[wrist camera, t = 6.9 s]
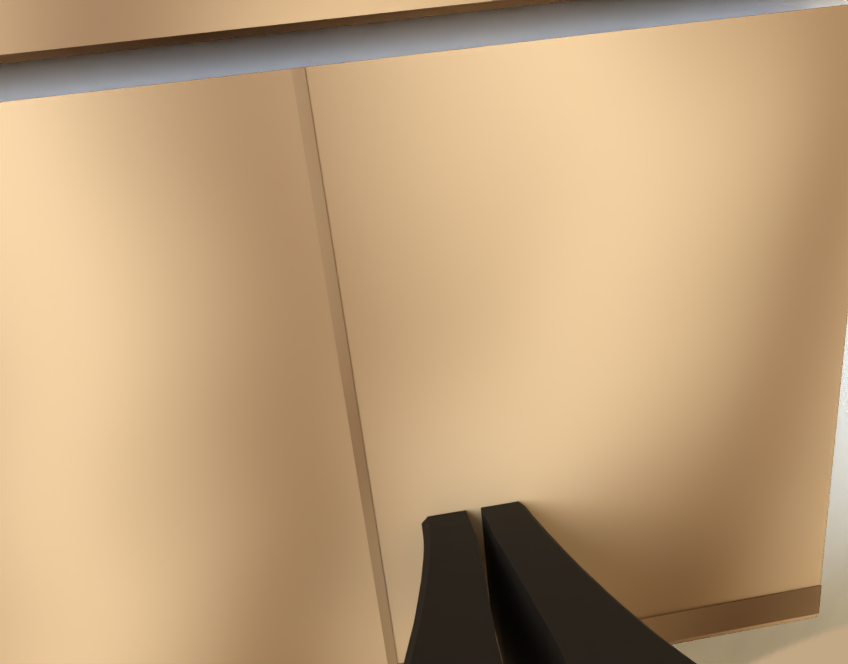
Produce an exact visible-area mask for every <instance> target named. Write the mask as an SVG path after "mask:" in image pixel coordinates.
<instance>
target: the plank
mask: <svg viewBox="0 0 848 664" xmlns="http://www.w3.org/2000/svg"><path fill="white" fill-rule="evenodd" d="M847 316H848V5H840V6H831V7H822V8H814V9H805V10H796V11H788V12H779V13H770V14H762V15H753V16H744V17H736V18H727V19H718V20H710V21H701V22H692V23H684V24H675V25H666V26H658V27H649V28H640V29H632V30H623V31H614V32H606V33H597V34H588V35H580V36H571V37H562V38H554V39H545V40H536V41H528V42H519V43H510V44H502V45H493V46H484V47H476V48H467V49H458V50H449V51H441V52H432V53H423V54H415V55H406V56H397V57H389V58H380V59H371V60H363V61H354V62H345V63H337V64H328V65H319V66H311V67H302V68H293V69H285V70H276V71H267V72H259V73H250V74H241V75H233V76H224V77H215V78H207V79H198V80H189V81H181V82H172V83H163V84H155V85H146V86H137V87H129V88H120V89H111V90H103V91H94V92H85V93H77V94H68V95H59V96H51V97H42V98H33V99H25V100H16V101H7V102H0V664H404V660H405V656H406V652H407V648H408V644H409V640H410V636H411V632H412V628H413V623H414V619H415V613H416V607H417V602H418V596H419V590H420V584H421V576H422V566H423V553H424V541H423V532H422V522H423V521H424V520H425V519H426V518H427V517H428V516H434V515H440V514H445V513H451V512H457V511H463V510H466V512H467V514H468V516H469V519H470V521H471V523H472V526H473V528H474V531H475V533H476V536H477V538H478V544H479V549H480V554H481V559H482V565H483V570H484V575H485V581H486V586H487V591H488V597H489V590H488V580H487V569H486V558H485V548H484V537H483V527H482V516H481V507H487V506H493V505H499V504H505V503H511V502H517V501H519V502H520V503H521V504H523V505H524V506H526V508H527V509H528V510H529V511H530V512H531V514H532V515H533V516H534V517H535V518H536V519H537V521H538V522H539V523H540V524H541V525H542V526H543V527H544V528H545V530H546V531H547V532H548V533H549V534H550V535H551V536H552V537H553V538H554V539H555V540H556V541H557V543H558V544H559V545H560V546H561V547H562V548H563V549H564V550H565V551H566V552H567V553H568V554H569V555H570V556H571V557H572V558H573V559H574V560H575V561H576V562H577V563H578V564H579V565H580V566H581V567H582V568H583V569H584V570H585V571H586V572H587V573H588V574H589V575H590V576H591V577H592V578H594V579H595V580H596V581H597V582H598V583H599V584H600V585H601V586H602V587H603V588H604V589H605V590H606V591H607V592H608V593H609V594H611V595H612V596H613V597H614V598H615V599H616V600H617V601H618V602H620V603H621V604H622V605H623V606H624V607H625V608H626V609H628V610H629V611H630V612H631V613H632V614H633V615H635V616H636V617H637V618H638V619H639V620H641V621H642V622H643V623H644V624H645V625H646V626H648V627H649V628H650V629H651V630H653V631H654V632H655V633H656V634H658V635H659V636H660V637H661V638H663V639H664V640H665V641H666V642H668V643H669V644H670V645H672V644H677V643H682V642H687V641H693V640H698V639H703V638H708V637H714V636H719V635H724V634H729V633H735V632H740V631H745V630H750V629H756V628H761V627H766V626H771V625H777V624H782V623H787V622H792V621H798V620H803V619H808V618H813V617H817V614H818V613H819V605H820V595H821V585H820V583H821V573H822V563H823V553H824V543H825V534H826V524H827V514H828V504H829V494H830V484H831V474H832V464H833V454H834V445H835V435H836V425H837V415H838V405H839V395H840V385H841V375H842V365H843V355H844V346H845V336H846V326H847ZM489 602H490V601H489ZM495 634H496V633H495ZM496 638H497V637H496ZM497 642H498V641H497ZM498 646H499V645H498ZM499 650H500V649H499ZM500 654H501V653H500ZM501 658H502V657H501ZM502 662H503V661H502Z"/></svg>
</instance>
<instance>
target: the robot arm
mask: <svg viewBox="0 0 848 664" xmlns="http://www.w3.org/2000/svg"><path fill="white" fill-rule="evenodd" d="M481 516H482V527H483V537H484V548H485V558H486V569H487V580H488V590H489V597H488V591H487V586H486V581H485V575H484V570H483V565H482V559H481V554H480V549H479V544H478V538H477V536H476V533H475V531H474V528H473V526H472V523H471V521H470V519H469V516H468V514H467V512H466V510H463V511H457V512H451V513H445V514H440V515H434V516H428V517H427V518H426V519H425V520H424V521H423V522H422V532H423V541H424V553H423V566H422V576H421V584H420V590H419V596H418V602H417V607H416V613H415V619H414V623H413V628H412V632H411V636H410V640H409V644H408V648H407V652H406V656H405V660H404V664H696V663H695V662H693V661H692V660H691V659H689V658H688V657H686V656H685V655H684V654H682V653H681V652H680V651H678V650H677V649H676V648H674V647H673V646H672V645H670V644H669V643H668V642H666V641H665V640H664V639H663V638H661V637H660V636H659V635H658V634H656V633H655V632H654V631H653V630H651V629H650V628H649V627H648V626H646V625H645V624H644V623H643V622H642V621H641V620H639V619H638V618H637V617H636V616H635V615H633V614H632V613H631V612H630V611H629V610H628V609H626V608H625V607H624V606H623V605H622V604H621V603H620V602H618V601H617V600H616V599H615V598H614V597H613V596H612V595H611V594H609V593H608V592H607V591H606V590H605V589H604V588H603V587H602V586H601V585H600V584H599V583H598V582H597V581H596V580H595V579H594V578H592V577H591V576H590V575H589V574H588V573H587V572H586V571H585V570H584V569H583V568H582V567H581V566H580V565H579V564H578V563H577V562H576V561H575V560H574V559H573V558H572V557H571V556H570V555H569V554H568V553H567V552H566V551H565V550H564V549H563V548H562V547H561V546H560V545H559V544H558V543H557V541H556V540H555V539H554V538H553V537H552V536H551V535H550V534H549V533H548V532H547V531H546V530H545V528H544V527H543V526H542V525H541V524H540V523H539V522H538V521H537V519H536V518H535V517H534V516H533V515H532V514H531V512H530V511H529V510H528V509H527V508H526V506H524V505H523V504H521V503H520V502H519V501H517V502H511V503H505V504H499V505H493V506H487V507H481ZM489 601H490V602H489ZM495 633H496V634H495ZM496 637H497V638H496ZM497 641H498V642H497ZM498 645H499V646H498ZM499 649H500V650H499ZM500 653H501V654H500ZM501 657H502V658H501ZM502 661H503V662H502Z"/></svg>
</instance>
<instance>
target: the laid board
mask: <svg viewBox="0 0 848 664" xmlns="http://www.w3.org/2000/svg"><path fill="white" fill-rule="evenodd" d="M563 1H572V0H0V64H4V63H13V62H22V61H31V60H40V59H49V58H58V57H67V56H76V55H85V54H94V53H103V52H112V51H121V50H130V49H139V48H148V47H157V46H166V45H175V44H184V43H193V42H202V41H211V40H220V39H229V38H238V37H247V36H256V35H265V34H274V33H284V32H293V31H302V30H311V29H320V28H329V27H338V26H347V25H356V24H365V23H374V22H383V21H392V20H401V19H410V18H419V17H428V16H437V15H446V14H455V13H464V12H473V11H482V10H491V9H500V8H509V7H518V6H527V5H536V4H545V3H554V2H563Z"/></svg>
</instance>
